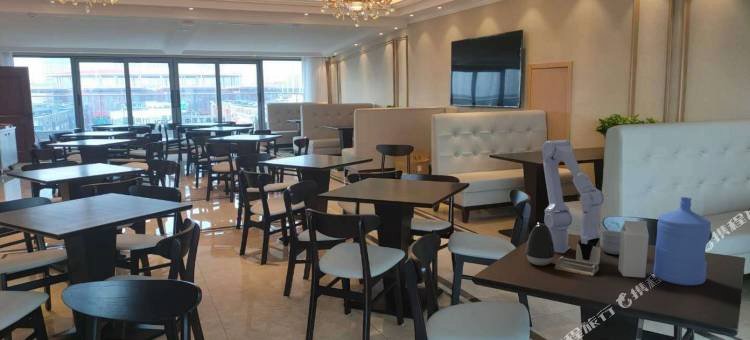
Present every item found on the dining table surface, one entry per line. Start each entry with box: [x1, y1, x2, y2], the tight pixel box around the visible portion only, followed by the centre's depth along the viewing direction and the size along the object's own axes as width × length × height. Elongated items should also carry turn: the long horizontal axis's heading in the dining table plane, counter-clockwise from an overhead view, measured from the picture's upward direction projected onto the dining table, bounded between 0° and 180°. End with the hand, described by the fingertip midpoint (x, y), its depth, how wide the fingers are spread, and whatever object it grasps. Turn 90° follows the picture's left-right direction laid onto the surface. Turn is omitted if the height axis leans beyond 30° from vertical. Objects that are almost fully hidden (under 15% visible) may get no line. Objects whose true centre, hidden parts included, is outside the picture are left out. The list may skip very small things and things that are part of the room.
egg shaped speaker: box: [525, 222, 556, 267], centre depth 197 cm, size 10×10×15 cm
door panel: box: [575, 244, 602, 265], centre depth 200 cm, size 2×8×6 cm, turn 54°
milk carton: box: [617, 220, 650, 279], centre depth 186 cm, size 7×7×19 cm
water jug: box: [652, 196, 712, 286], centre depth 181 cm, size 16×16×28 cm
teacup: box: [599, 230, 621, 256], centre depth 210 cm, size 14×11×8 cm
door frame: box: [554, 256, 600, 277], centre depth 192 cm, size 9×13×3 cm
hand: (587, 257), depth 200 cm, fingers open, 5 cm apart
